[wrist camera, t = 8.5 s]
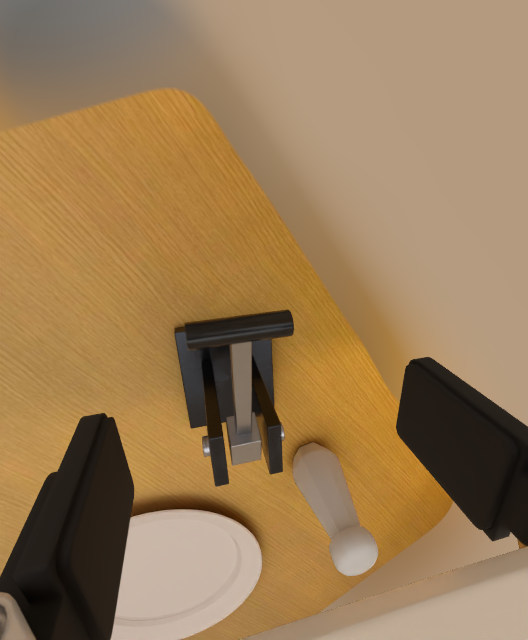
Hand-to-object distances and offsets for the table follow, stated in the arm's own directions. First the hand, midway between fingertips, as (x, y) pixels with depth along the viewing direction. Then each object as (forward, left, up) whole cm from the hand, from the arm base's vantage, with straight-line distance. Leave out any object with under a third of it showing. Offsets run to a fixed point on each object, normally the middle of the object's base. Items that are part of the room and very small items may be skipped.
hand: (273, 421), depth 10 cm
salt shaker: (+24, +9, -21) cm, 33 cm away
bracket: (+10, 0, -21) cm, 23 cm away
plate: (+38, -11, -21) cm, 45 cm away
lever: (+5, 0, -10) cm, 12 cm away
